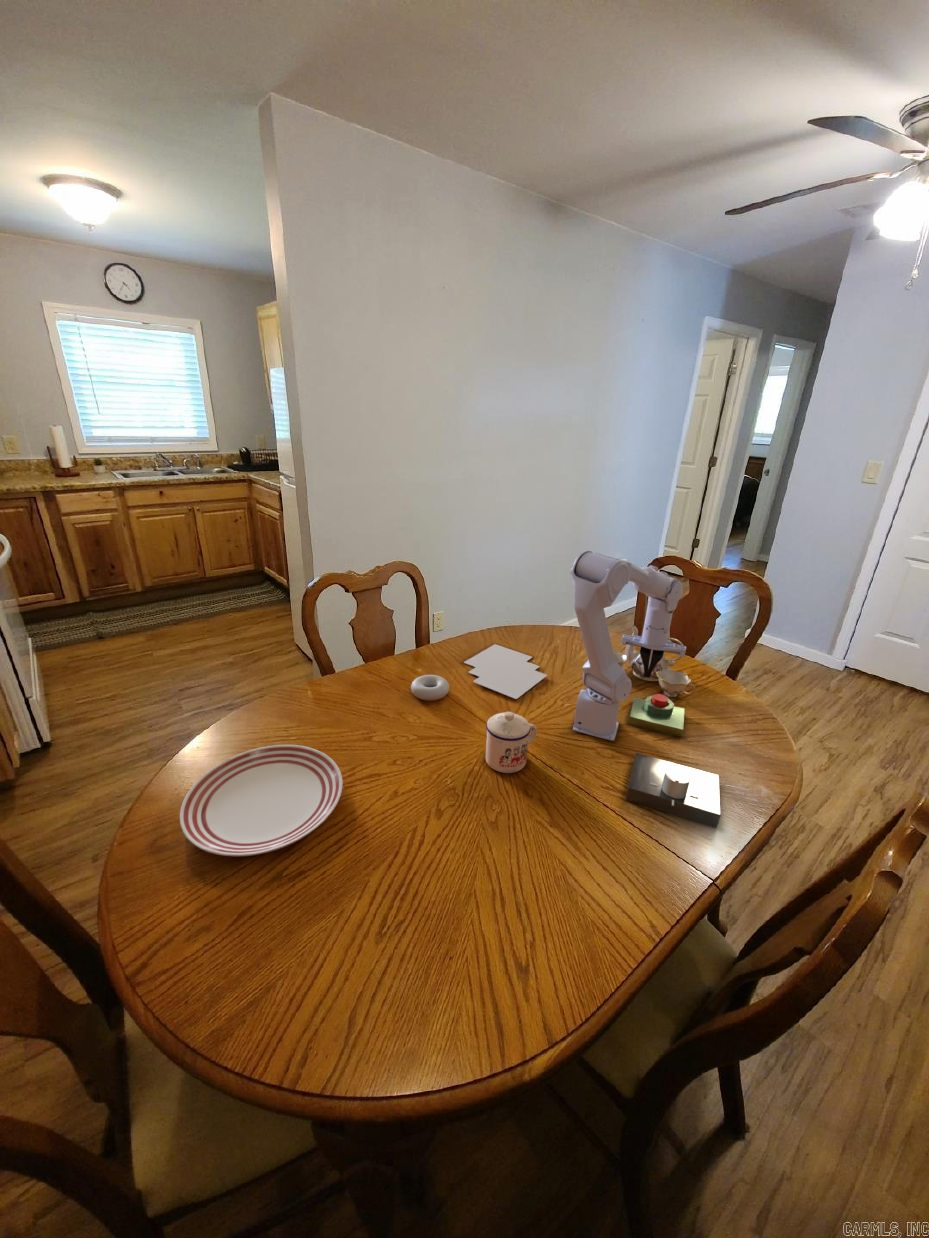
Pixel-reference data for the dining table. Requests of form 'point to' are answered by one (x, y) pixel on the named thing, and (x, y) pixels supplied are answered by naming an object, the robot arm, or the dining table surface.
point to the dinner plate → (261, 800)
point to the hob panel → (694, 806)
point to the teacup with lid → (508, 741)
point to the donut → (430, 687)
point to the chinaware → (656, 669)
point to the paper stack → (505, 671)
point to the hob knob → (675, 783)
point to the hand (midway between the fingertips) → (647, 675)
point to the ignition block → (657, 716)
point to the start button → (660, 700)
